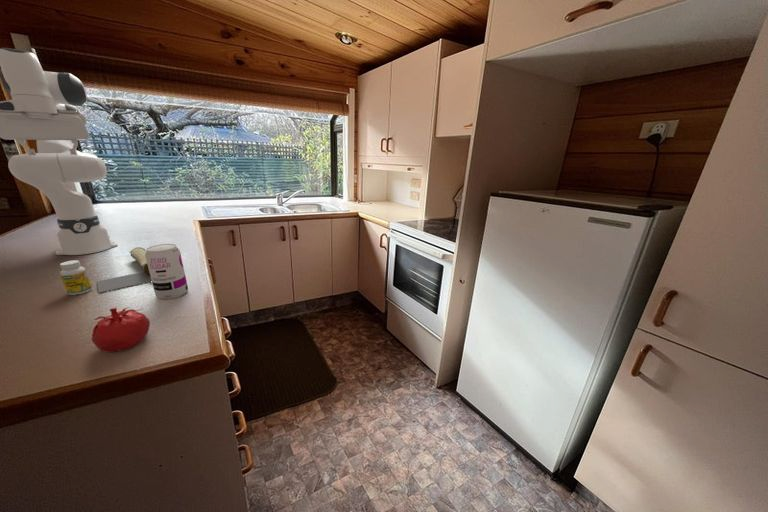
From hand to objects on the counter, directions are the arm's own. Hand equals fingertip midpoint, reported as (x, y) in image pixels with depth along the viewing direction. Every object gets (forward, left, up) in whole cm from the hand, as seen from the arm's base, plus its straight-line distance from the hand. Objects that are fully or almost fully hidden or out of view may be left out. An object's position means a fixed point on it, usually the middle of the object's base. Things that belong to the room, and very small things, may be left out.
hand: (54, 154), depth 96 cm
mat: (+26, +10, -39) cm, 48 cm away
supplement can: (+46, +17, -39) cm, 63 cm away
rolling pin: (+16, +15, -39) cm, 45 cm away
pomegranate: (+67, +4, -39) cm, 78 cm away
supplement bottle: (+26, -3, -39) cm, 47 cm away
